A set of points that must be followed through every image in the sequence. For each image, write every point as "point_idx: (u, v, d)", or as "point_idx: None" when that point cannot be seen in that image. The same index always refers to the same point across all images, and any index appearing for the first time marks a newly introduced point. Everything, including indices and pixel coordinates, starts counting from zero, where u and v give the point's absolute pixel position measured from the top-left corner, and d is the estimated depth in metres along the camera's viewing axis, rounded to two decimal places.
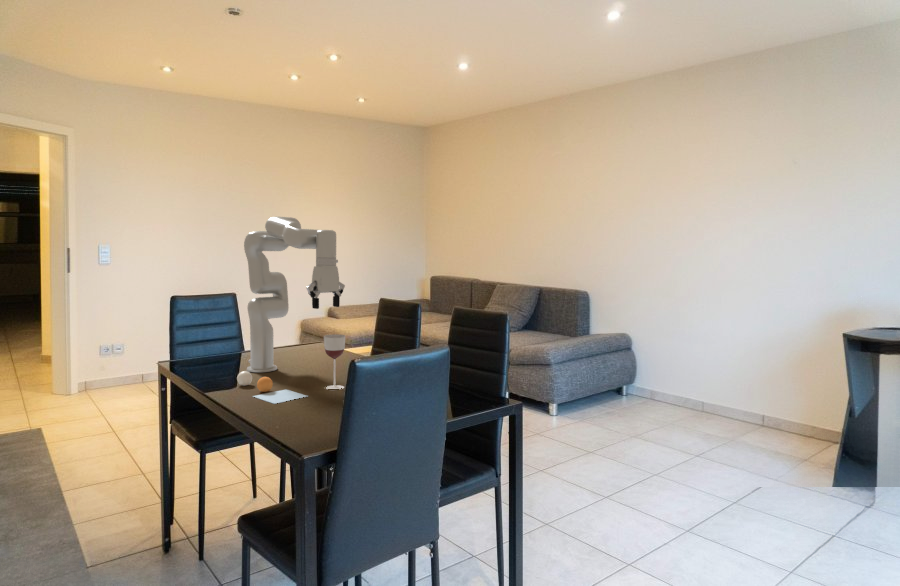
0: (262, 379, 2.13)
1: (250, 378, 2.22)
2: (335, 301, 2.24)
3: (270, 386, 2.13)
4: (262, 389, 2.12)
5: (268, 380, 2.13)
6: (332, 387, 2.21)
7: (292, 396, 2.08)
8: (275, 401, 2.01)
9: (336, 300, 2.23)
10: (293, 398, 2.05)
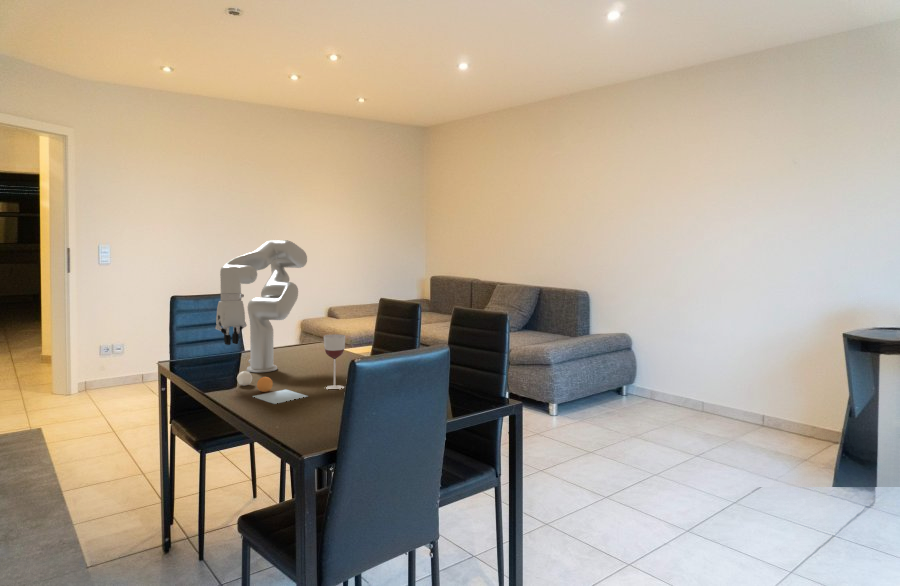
0: (262, 379, 2.13)
1: (250, 378, 2.22)
2: (234, 338, 2.29)
3: (270, 386, 2.13)
4: (262, 389, 2.12)
5: (268, 380, 2.13)
6: (332, 387, 2.21)
7: (292, 396, 2.08)
8: (275, 401, 2.01)
9: (235, 337, 2.29)
10: (293, 398, 2.05)
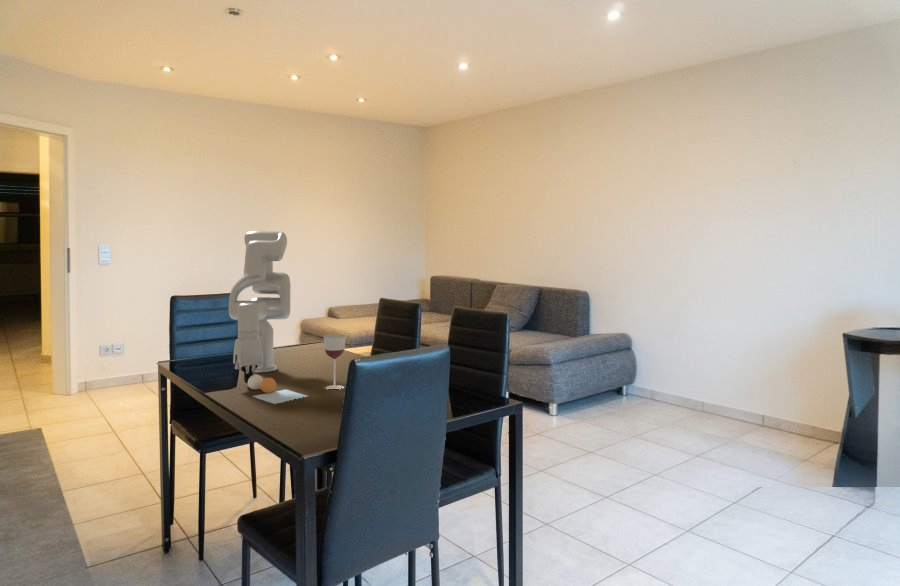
0: (267, 384, 2.10)
1: None
2: (249, 377, 2.21)
3: (272, 391, 2.13)
4: (263, 391, 2.12)
5: (272, 387, 2.11)
6: (332, 387, 2.21)
7: (292, 396, 2.08)
8: (275, 401, 2.01)
9: (249, 376, 2.21)
10: (293, 398, 2.05)
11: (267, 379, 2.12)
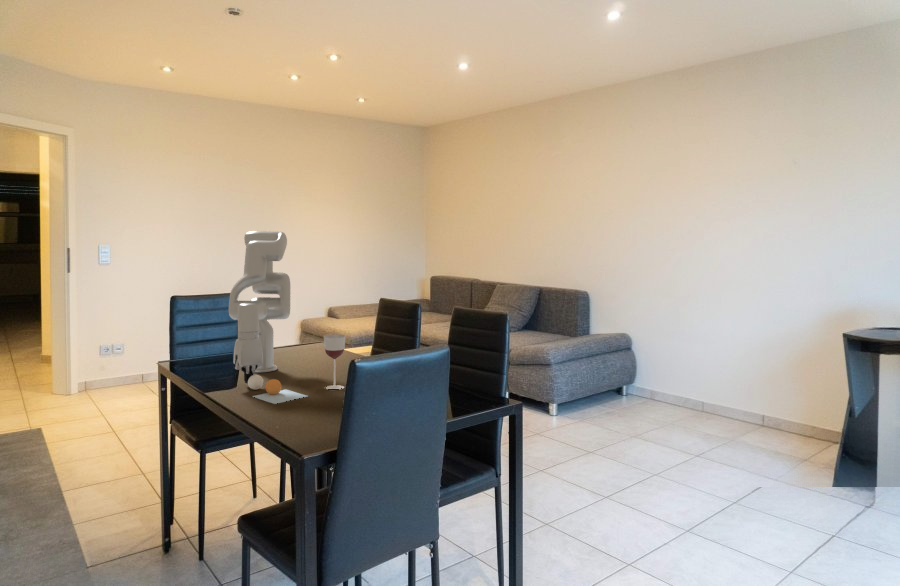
0: (272, 392, 2.09)
1: None
2: (249, 377, 2.21)
3: None
4: None
5: None
6: (332, 387, 2.21)
7: (292, 396, 2.08)
8: (275, 401, 2.01)
9: (250, 376, 2.21)
10: (293, 398, 2.05)
11: (275, 388, 2.08)
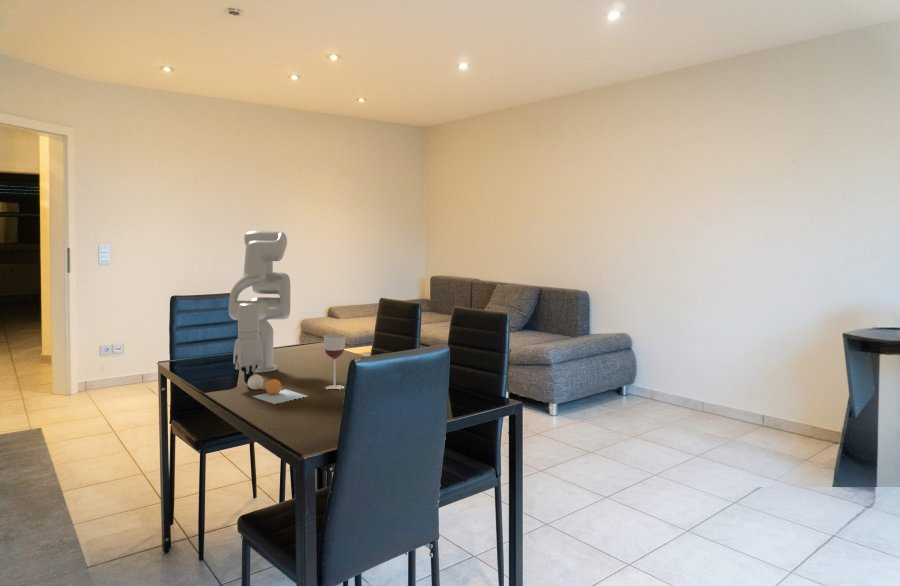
0: (272, 392, 2.09)
1: None
2: (249, 377, 2.21)
3: None
4: None
5: None
6: (332, 387, 2.21)
7: (292, 396, 2.08)
8: (275, 401, 2.01)
9: (250, 376, 2.21)
10: (293, 398, 2.05)
11: (275, 388, 2.08)
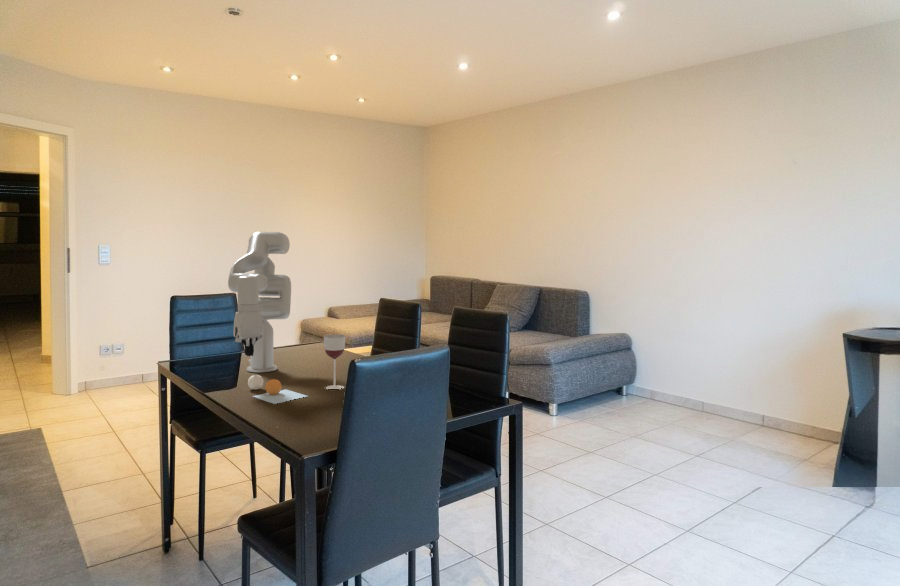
0: (272, 392, 2.09)
1: None
2: None
3: None
4: None
5: None
6: (332, 387, 2.21)
7: (292, 396, 2.08)
8: (275, 401, 2.01)
9: None
10: (293, 398, 2.05)
11: (275, 388, 2.08)
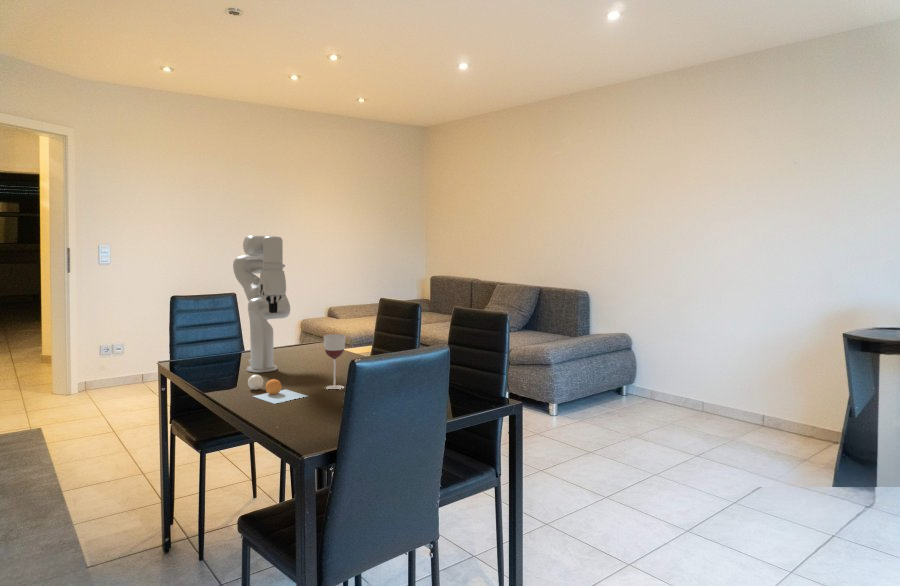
0: (272, 392, 2.09)
1: None
2: None
3: None
4: None
5: None
6: (332, 387, 2.21)
7: (292, 396, 2.08)
8: (275, 401, 2.01)
9: None
10: (293, 398, 2.05)
11: (275, 388, 2.08)
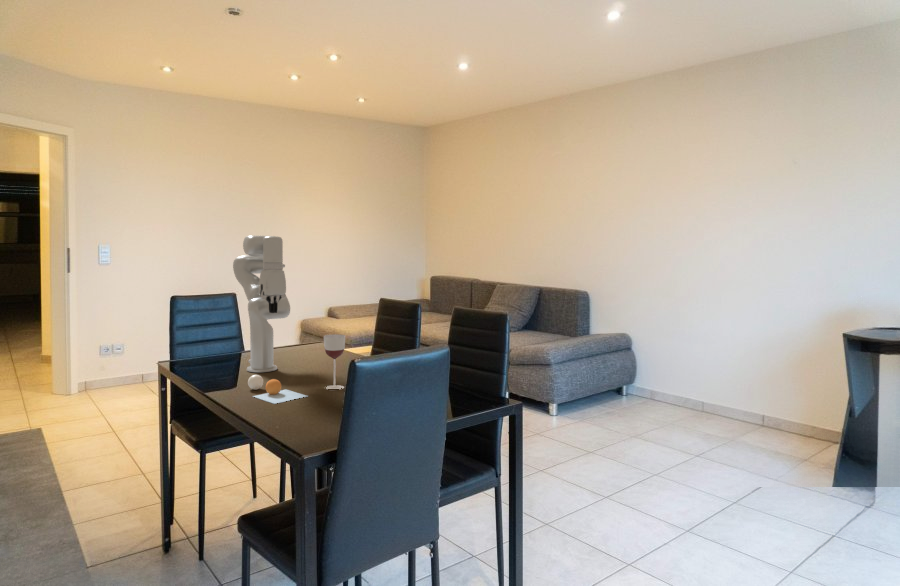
0: (272, 392, 2.09)
1: None
2: None
3: None
4: None
5: None
6: (332, 387, 2.21)
7: (292, 396, 2.08)
8: (275, 401, 2.01)
9: None
10: (293, 398, 2.05)
11: (275, 388, 2.08)
